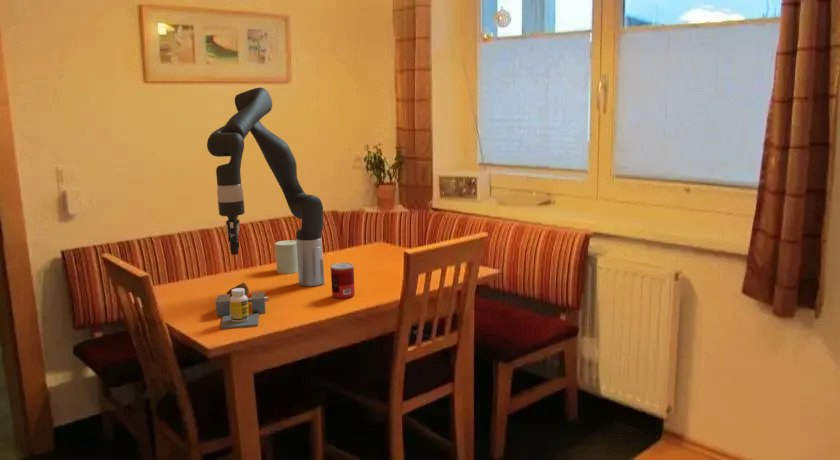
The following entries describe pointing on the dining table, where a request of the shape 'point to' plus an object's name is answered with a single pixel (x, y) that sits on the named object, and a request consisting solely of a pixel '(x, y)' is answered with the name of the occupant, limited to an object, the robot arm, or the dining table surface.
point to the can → (286, 256)
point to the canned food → (342, 280)
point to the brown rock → (239, 287)
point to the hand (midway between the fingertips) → (235, 251)
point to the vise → (257, 301)
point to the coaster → (230, 324)
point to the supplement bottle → (239, 305)
